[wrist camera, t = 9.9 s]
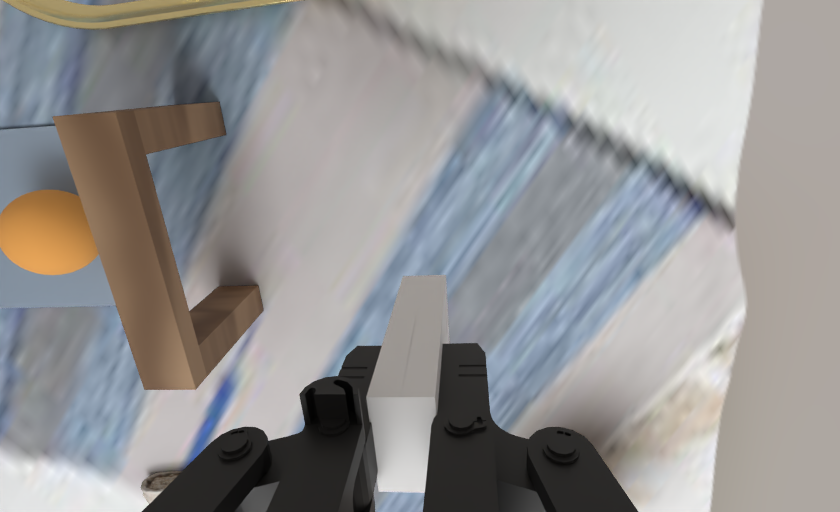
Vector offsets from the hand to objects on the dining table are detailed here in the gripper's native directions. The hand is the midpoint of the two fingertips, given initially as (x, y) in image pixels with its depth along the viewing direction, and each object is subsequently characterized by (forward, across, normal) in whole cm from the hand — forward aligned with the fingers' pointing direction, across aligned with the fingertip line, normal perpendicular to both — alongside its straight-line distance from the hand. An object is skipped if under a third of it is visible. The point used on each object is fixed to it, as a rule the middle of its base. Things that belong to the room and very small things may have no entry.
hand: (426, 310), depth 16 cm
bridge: (+14, +15, 0) cm, 21 cm away
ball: (+12, +25, 0) cm, 28 cm away
